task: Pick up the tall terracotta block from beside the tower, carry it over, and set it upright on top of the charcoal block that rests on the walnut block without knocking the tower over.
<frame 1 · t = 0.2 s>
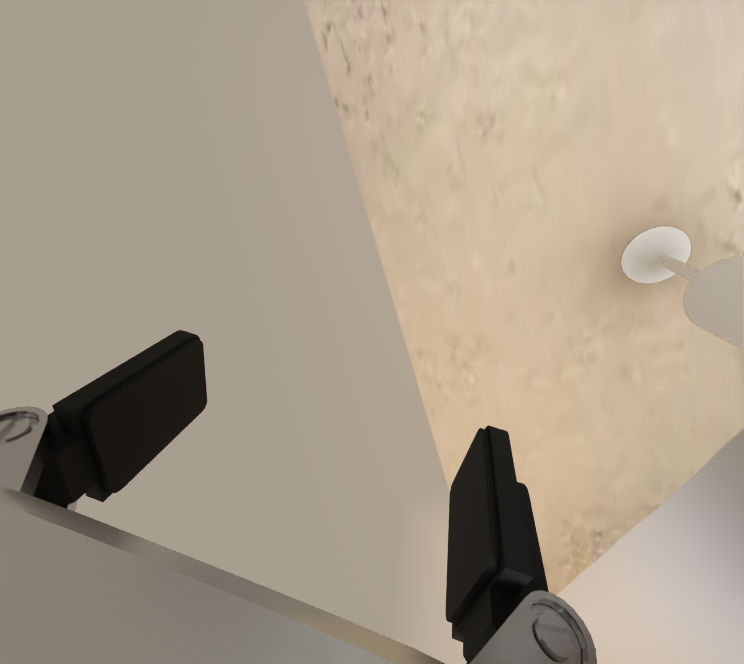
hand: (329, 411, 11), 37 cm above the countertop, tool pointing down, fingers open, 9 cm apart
champagne flute: (654, 255, 39), on the countertop
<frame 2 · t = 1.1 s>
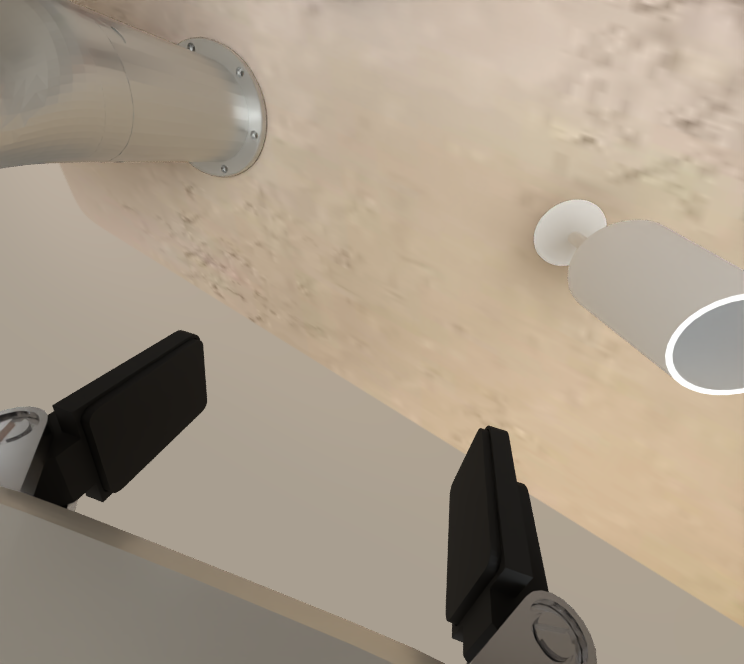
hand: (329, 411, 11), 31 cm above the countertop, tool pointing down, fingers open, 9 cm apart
champagne flute: (568, 233, 34), on the countertop
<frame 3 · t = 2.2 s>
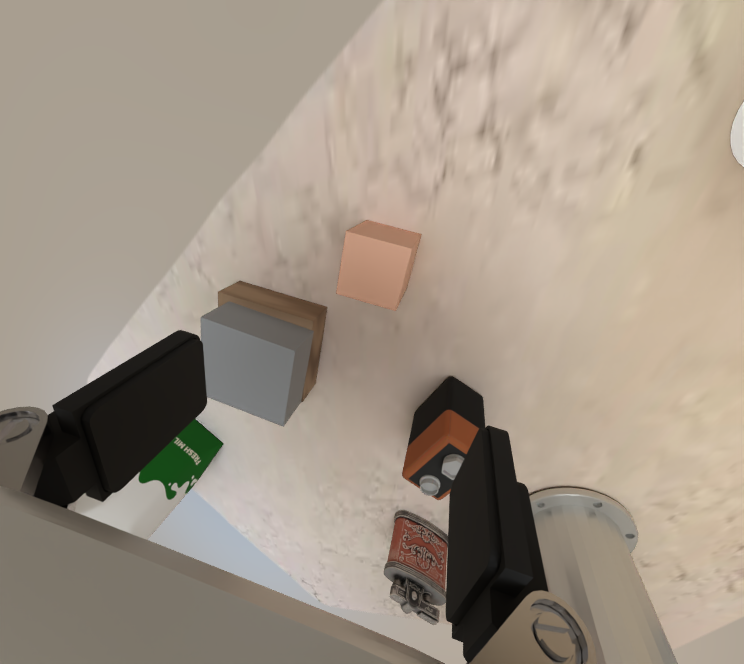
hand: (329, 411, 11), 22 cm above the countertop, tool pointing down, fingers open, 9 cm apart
tower base: (281, 332, 38), on the countertop, touching tower top
battery: (447, 403, 36), on the countertop
tower top: (266, 353, 34), point 4 cm above the countertop, touching tower base
pillar block: (387, 254, 30), on the countertop
lighter: (422, 525, 46), on the countertop
milk carton: (196, 436, 49), on the countertop
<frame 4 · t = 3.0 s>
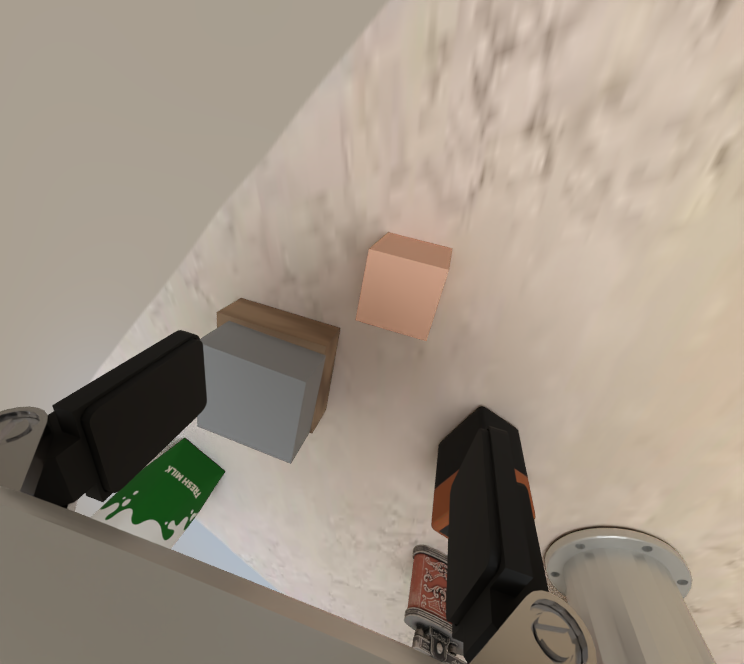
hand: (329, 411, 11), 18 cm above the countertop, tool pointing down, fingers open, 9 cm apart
tower base: (287, 354, 34), on the countertop, touching tower top
battery: (476, 434, 32), on the countertop
tower top: (271, 379, 30), point 4 cm above the countertop, touching tower base
pillar block: (411, 271, 26), on the countertop
lighter: (442, 561, 42), on the countertop
milk carton: (195, 463, 46), on the countertop
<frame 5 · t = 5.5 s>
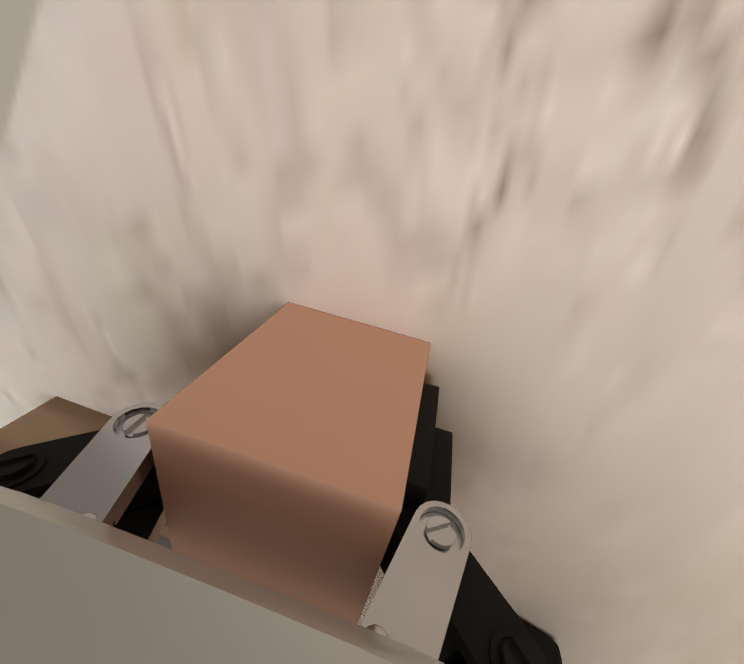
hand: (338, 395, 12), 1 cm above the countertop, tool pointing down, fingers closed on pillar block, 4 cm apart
tower base: (157, 482, 20), on the countertop
battery: (481, 631, 18), on the countertop
pillar block: (346, 380, 12), on the countertop, touching gripper
when the fingers open (10 cm above the countertop, at t = 12.1 s): pillar block drops 2 cm, resting on tower top.
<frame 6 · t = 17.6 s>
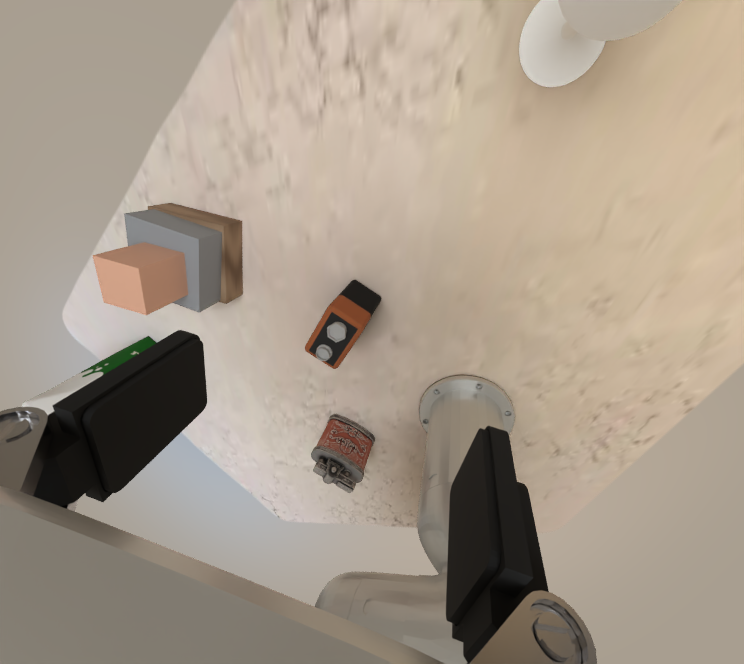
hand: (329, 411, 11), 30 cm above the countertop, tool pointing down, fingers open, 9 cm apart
tower base: (209, 249, 45), on the countertop, touching tower top
battery: (356, 306, 43), on the countertop
champagne flute: (562, 38, 28), on the countertop
tower top: (188, 256, 41), point 4 cm above the countertop, touching pillar block, tower base
pillar block: (166, 268, 38), point 8 cm above the countertop, touching tower top
lighter: (352, 428, 53), on the countertop
milk carton: (159, 360, 57), on the countertop
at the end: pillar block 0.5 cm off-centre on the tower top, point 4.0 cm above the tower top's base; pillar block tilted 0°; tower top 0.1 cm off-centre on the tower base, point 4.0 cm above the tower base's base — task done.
